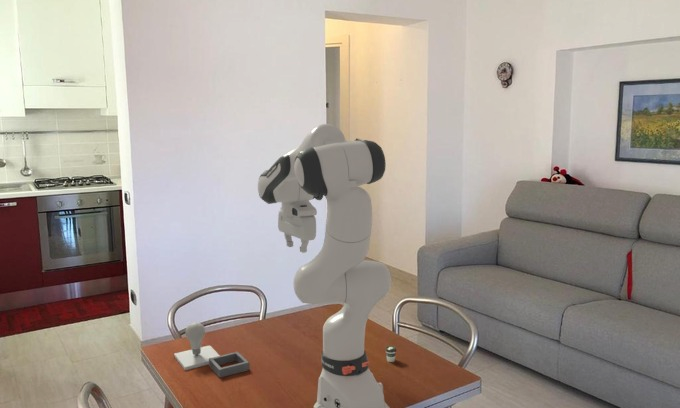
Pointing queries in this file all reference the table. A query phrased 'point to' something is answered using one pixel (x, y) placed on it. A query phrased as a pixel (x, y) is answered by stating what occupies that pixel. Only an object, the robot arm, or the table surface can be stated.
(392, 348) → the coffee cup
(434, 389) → the table surface
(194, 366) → the mat
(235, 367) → the frame
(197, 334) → the lightbulb
